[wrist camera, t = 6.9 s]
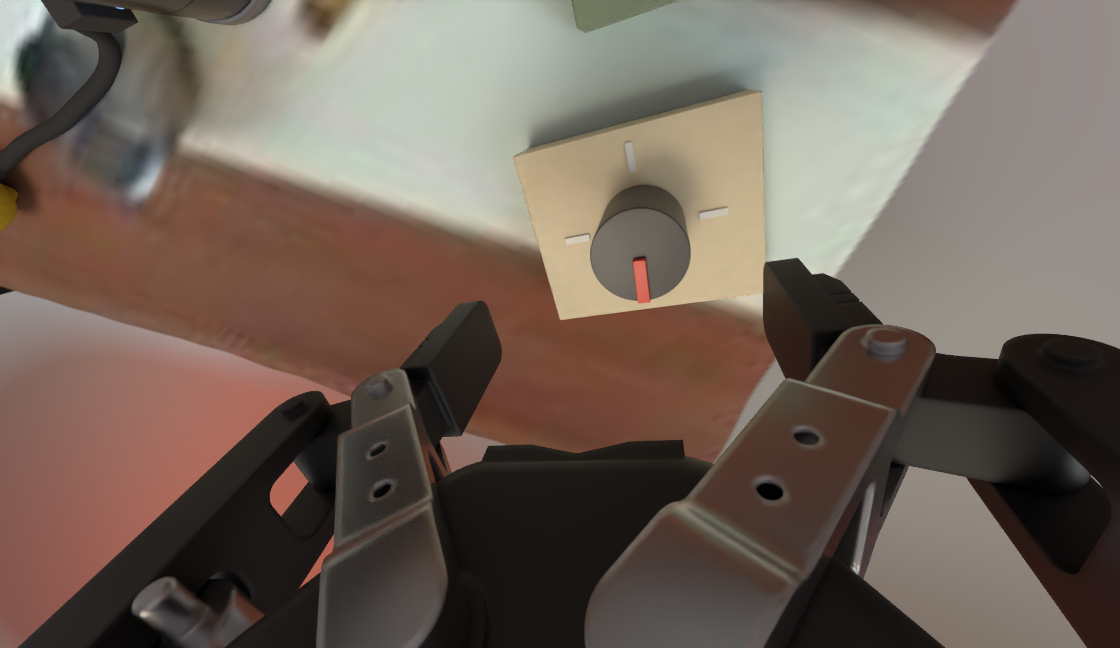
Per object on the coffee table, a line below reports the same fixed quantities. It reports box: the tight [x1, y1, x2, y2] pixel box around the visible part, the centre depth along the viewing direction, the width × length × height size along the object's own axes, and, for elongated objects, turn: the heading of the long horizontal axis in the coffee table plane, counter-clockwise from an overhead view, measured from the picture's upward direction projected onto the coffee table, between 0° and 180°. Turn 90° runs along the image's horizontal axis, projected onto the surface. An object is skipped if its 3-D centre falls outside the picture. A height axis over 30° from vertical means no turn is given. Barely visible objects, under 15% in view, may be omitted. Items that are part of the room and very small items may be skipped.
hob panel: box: [513, 90, 766, 320], centre depth 23 cm, size 12×10×3 cm
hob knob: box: [590, 185, 691, 304], centre depth 20 cm, size 4×4×5 cm
